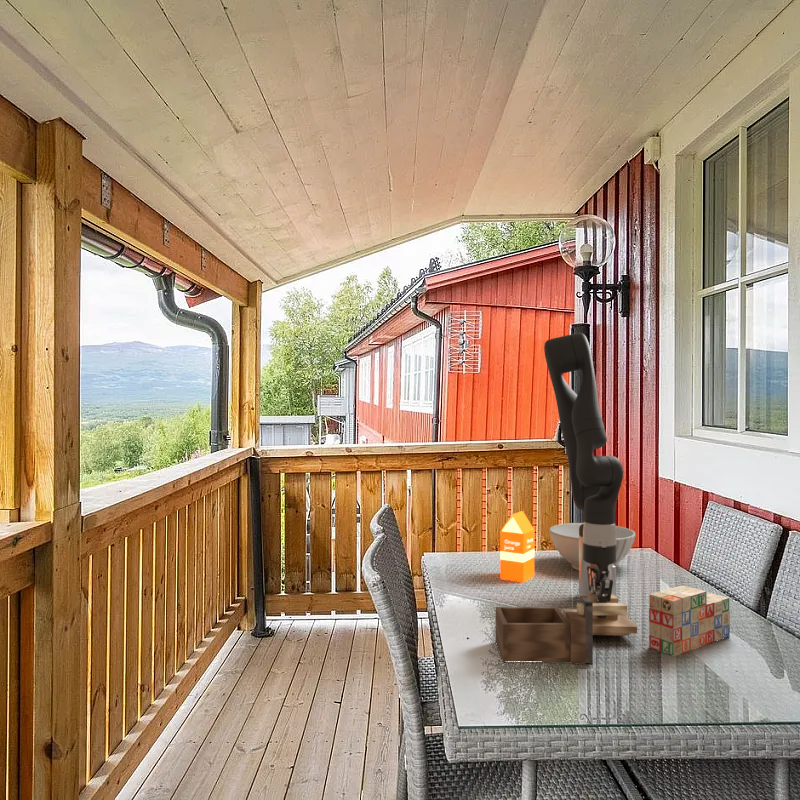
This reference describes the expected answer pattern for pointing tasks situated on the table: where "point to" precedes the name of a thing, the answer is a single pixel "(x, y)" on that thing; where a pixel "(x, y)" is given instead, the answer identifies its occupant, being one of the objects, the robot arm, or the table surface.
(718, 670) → the table surface
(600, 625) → the lid
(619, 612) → the light wooden plank
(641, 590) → the table surface
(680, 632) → the stack of blocks
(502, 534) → the orange juice
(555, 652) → the brown wooden box
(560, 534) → the decorative bowl
